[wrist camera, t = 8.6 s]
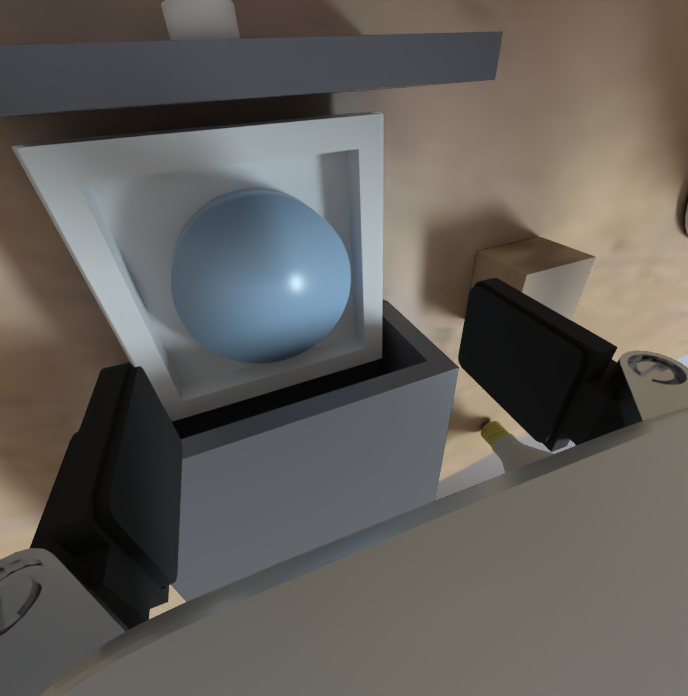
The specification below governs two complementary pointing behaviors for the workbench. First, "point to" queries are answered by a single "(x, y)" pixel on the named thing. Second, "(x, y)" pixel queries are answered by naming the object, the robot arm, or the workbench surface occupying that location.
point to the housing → (312, 460)
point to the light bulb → (510, 447)
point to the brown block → (538, 271)
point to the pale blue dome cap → (259, 276)
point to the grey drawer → (219, 173)
